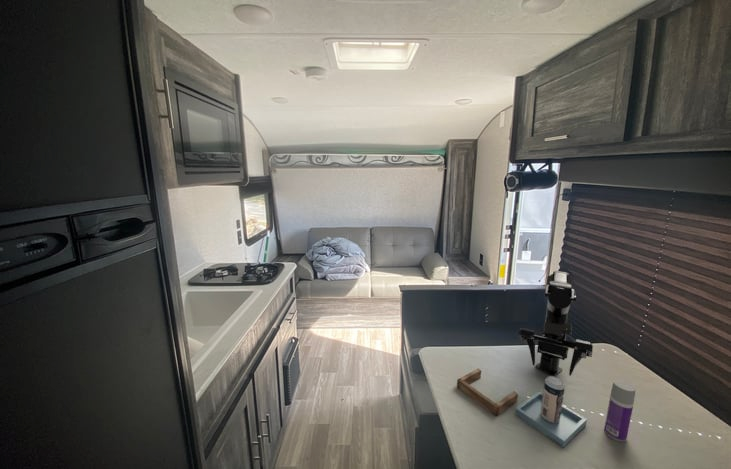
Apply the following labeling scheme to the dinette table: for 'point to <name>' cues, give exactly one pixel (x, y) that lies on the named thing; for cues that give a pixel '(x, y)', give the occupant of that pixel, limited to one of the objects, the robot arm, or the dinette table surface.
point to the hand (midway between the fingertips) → (551, 370)
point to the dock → (482, 399)
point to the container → (619, 410)
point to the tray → (555, 431)
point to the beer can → (552, 399)
